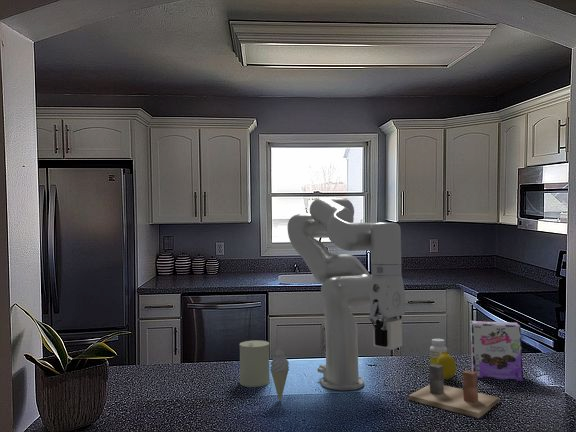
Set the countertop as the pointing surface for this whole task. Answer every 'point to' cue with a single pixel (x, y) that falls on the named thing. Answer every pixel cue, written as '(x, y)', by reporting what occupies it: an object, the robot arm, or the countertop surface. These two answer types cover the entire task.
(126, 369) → the countertop surface
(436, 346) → the supplement bottle
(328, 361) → the robot arm
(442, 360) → the lemon
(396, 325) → the white rectangular block
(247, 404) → the countertop surface
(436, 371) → the stand
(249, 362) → the can
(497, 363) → the candy box
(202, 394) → the countertop surface
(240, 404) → the countertop surface
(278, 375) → the ice cream cone
